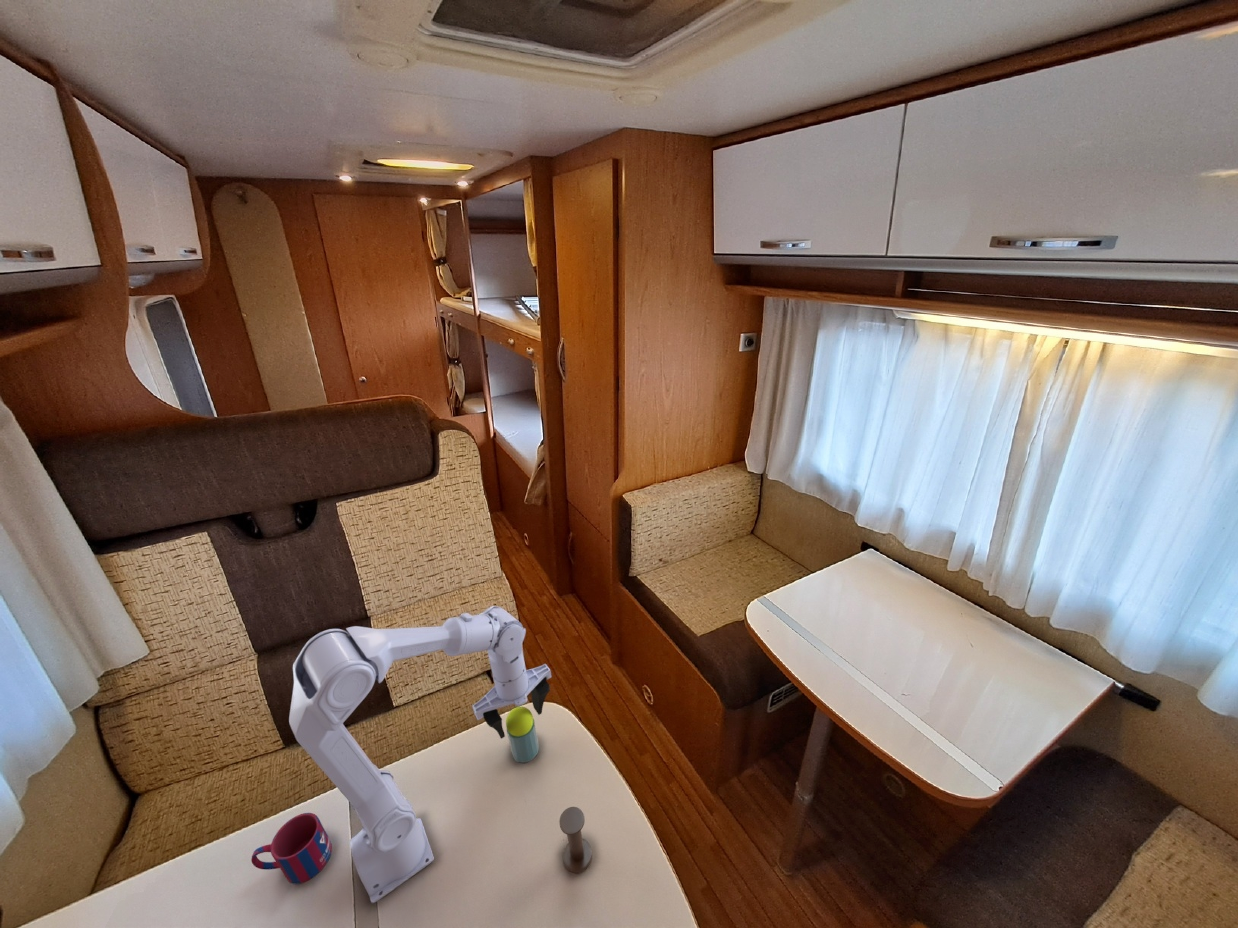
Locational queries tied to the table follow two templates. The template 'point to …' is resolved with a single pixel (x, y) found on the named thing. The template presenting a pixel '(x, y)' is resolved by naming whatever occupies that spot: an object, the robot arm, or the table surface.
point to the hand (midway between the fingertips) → (519, 721)
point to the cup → (297, 849)
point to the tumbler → (524, 745)
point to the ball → (519, 721)
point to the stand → (575, 841)
